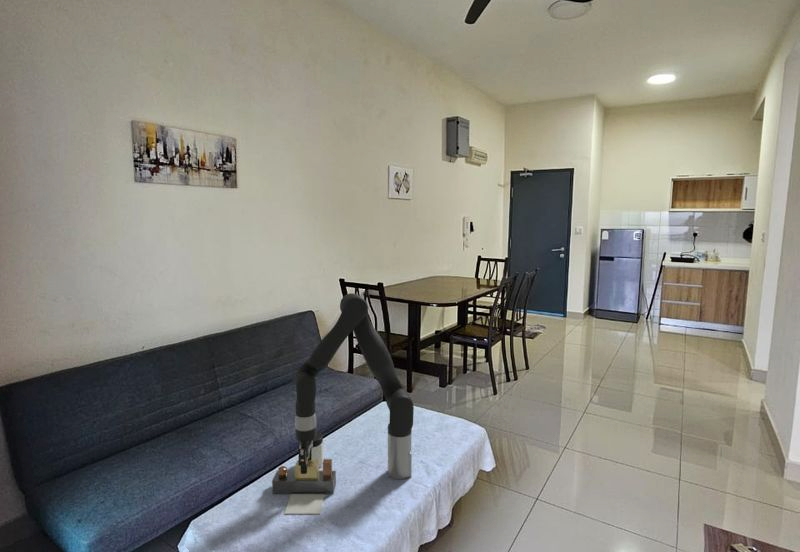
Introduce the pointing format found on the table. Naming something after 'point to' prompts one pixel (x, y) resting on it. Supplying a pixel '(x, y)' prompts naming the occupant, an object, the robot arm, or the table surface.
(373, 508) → the table surface
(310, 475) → the lever cap
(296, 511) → the felt mat
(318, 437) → the jar
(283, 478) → the body
